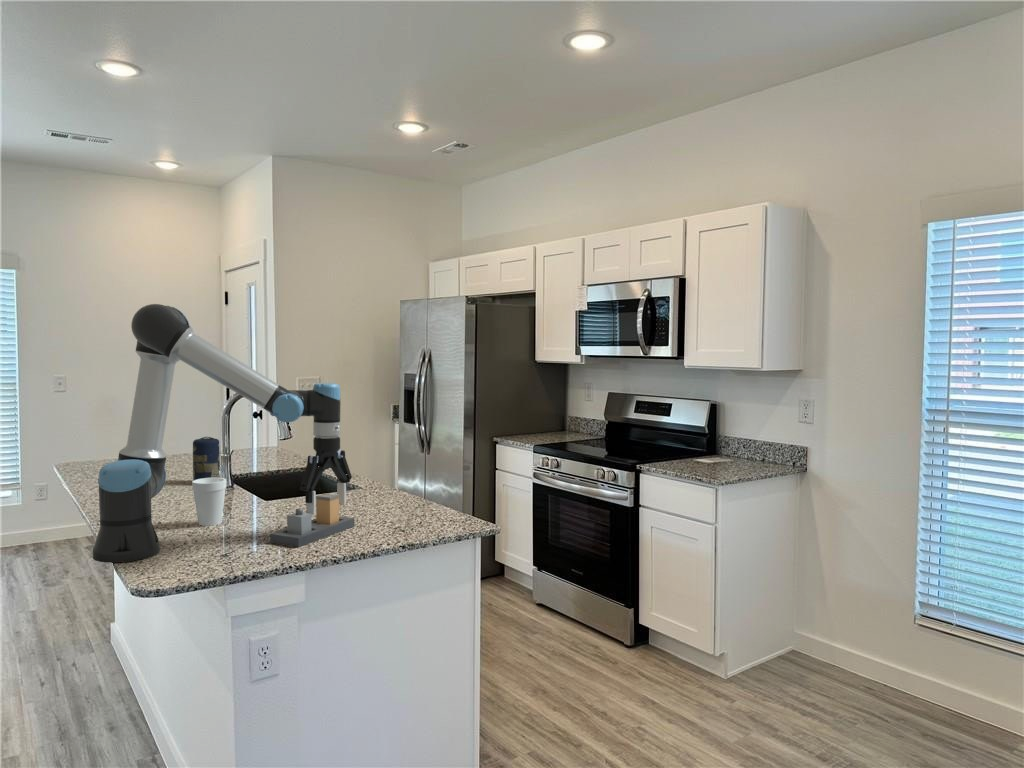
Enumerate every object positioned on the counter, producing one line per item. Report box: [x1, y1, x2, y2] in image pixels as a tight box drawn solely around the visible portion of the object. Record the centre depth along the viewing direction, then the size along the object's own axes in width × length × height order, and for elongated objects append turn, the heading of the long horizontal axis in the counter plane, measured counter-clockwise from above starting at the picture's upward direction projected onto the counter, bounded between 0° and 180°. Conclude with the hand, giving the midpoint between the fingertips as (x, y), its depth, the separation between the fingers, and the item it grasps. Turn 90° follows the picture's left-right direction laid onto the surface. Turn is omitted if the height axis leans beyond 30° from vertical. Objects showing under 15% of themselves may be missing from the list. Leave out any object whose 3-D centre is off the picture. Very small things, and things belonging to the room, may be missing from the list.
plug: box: [315, 493, 340, 525], centre depth 209 cm, size 4×5×10 cm
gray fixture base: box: [269, 508, 356, 548], centre depth 203 cm, size 24×10×8 cm, turn 155°
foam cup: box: [191, 477, 227, 527], centre depth 215 cm, size 10×9×13 cm
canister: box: [192, 436, 221, 481], centre depth 275 cm, size 10×10×18 cm
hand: (326, 509), depth 208 cm, fingers open, 13 cm apart
